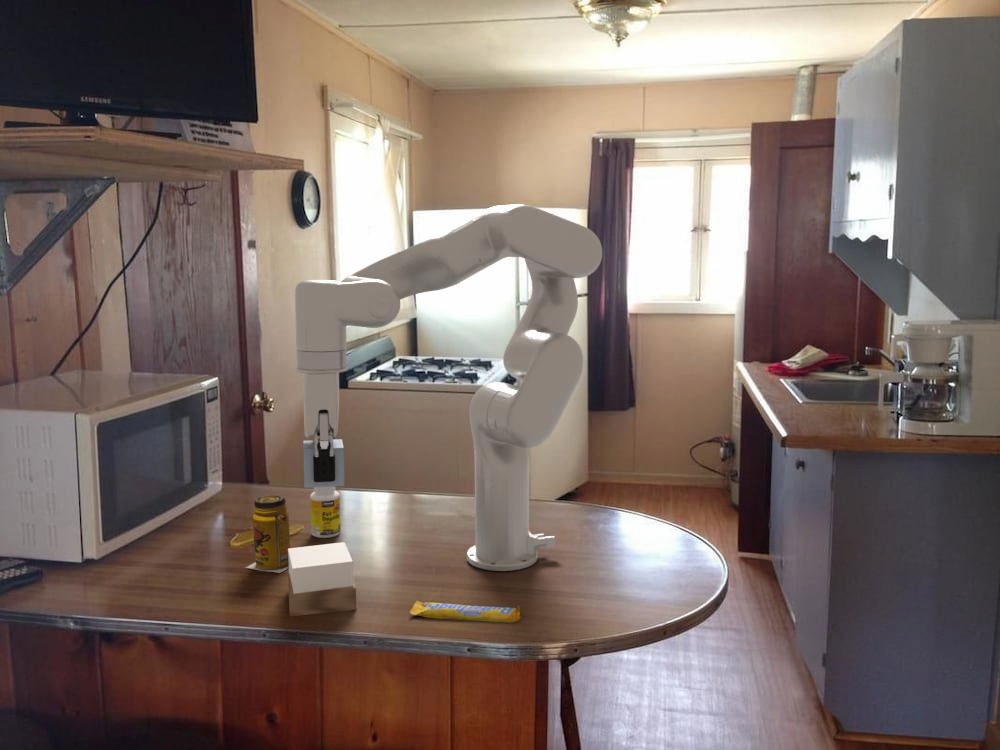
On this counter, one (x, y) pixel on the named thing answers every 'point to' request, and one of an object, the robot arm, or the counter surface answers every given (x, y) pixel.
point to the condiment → (271, 534)
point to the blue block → (310, 452)
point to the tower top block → (320, 567)
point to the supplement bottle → (325, 512)
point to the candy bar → (465, 612)
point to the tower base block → (322, 600)
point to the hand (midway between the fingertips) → (323, 474)
